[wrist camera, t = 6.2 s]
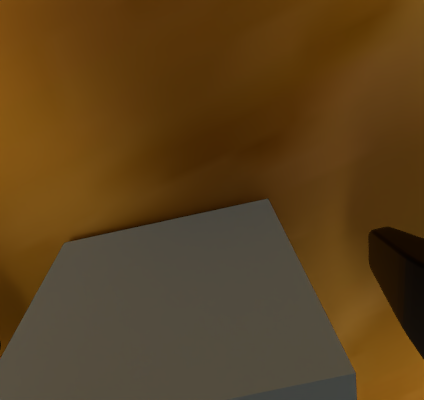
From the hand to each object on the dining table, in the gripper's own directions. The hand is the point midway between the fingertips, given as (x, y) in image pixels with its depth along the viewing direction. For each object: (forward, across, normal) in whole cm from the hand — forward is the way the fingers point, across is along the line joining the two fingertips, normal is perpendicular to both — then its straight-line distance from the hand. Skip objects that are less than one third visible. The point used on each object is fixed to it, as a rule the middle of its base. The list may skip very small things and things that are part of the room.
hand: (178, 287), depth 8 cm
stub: (+1, 0, +3) cm, 3 cm away
